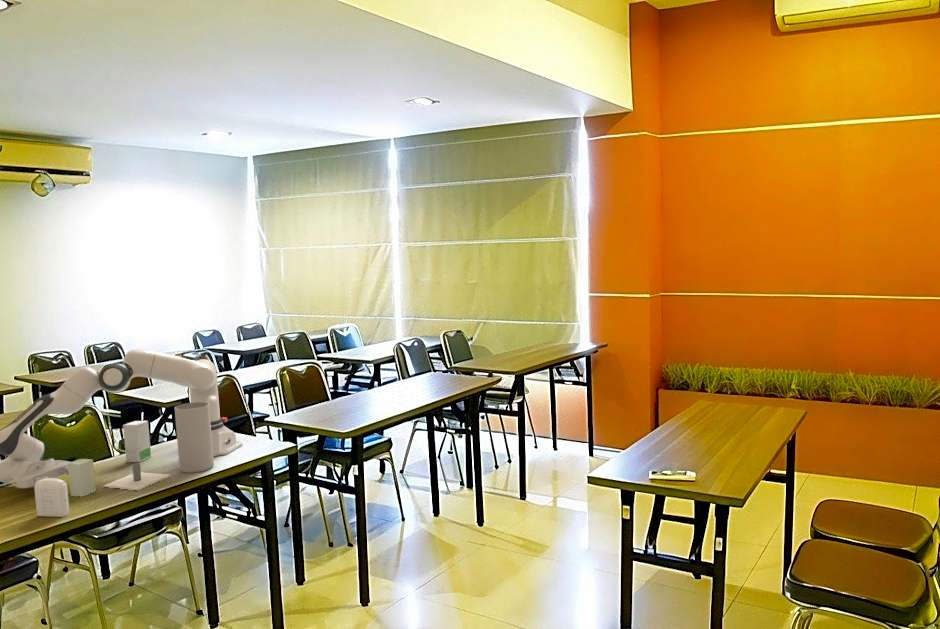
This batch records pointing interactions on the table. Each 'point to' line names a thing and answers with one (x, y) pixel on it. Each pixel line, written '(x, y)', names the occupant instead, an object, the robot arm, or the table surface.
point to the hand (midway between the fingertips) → (60, 475)
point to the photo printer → (51, 497)
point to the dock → (137, 484)
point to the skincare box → (137, 441)
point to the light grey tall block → (81, 477)
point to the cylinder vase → (194, 437)
